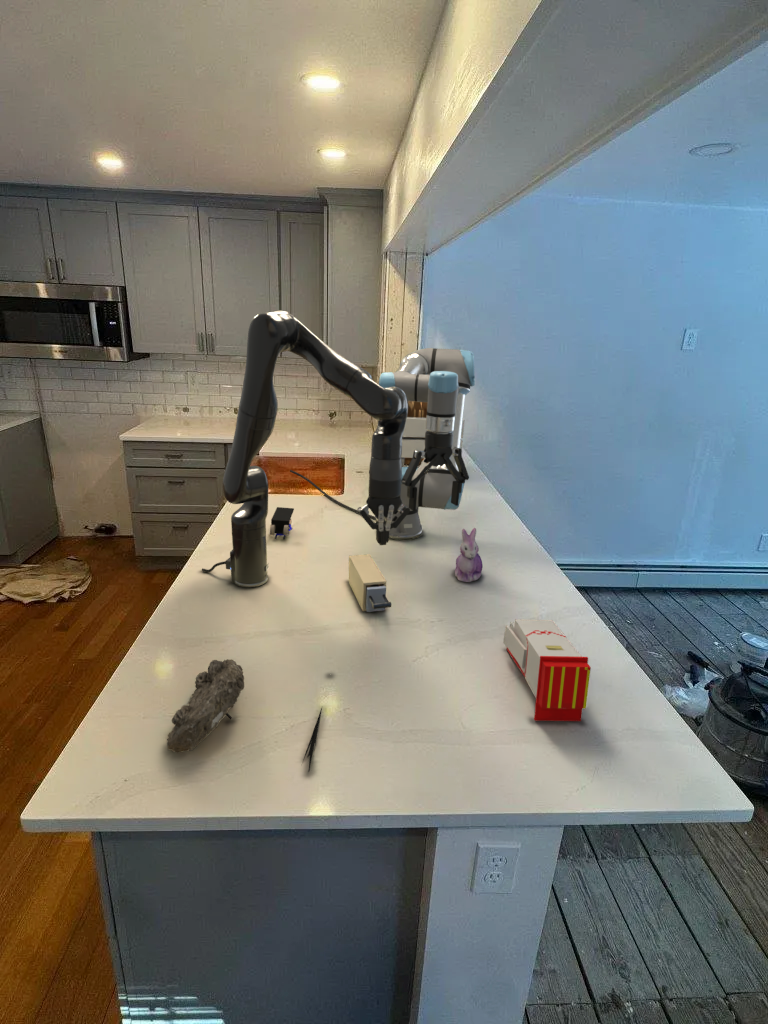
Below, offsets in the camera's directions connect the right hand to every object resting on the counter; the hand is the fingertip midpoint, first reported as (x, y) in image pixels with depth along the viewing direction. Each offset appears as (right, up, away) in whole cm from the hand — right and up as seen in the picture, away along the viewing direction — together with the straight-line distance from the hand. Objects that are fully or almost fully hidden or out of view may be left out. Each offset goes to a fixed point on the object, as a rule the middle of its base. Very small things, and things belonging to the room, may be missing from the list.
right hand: (433, 506), depth 158 cm
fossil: (-47, -41, -50) cm, 79 cm away
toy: (+20, -38, -34) cm, 55 cm away
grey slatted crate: (+3, +17, +117) cm, 118 cm away
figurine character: (-49, -9, +37) cm, 62 cm away
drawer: (-17, -25, -6) cm, 31 cm away
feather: (-26, -41, -49) cm, 69 cm away
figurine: (+11, -21, +12) cm, 27 cm away
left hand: (-14, -9, -21) cm, 27 cm away
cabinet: (-19, -24, -1) cm, 31 cm away
